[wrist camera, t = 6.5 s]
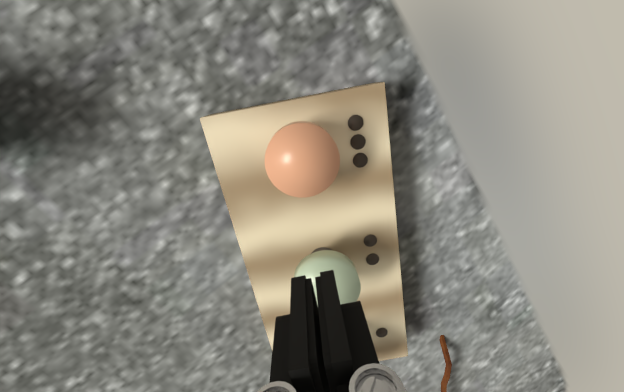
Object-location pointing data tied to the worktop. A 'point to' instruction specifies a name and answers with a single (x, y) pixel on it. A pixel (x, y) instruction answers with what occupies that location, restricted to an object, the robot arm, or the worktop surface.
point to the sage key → (342, 270)
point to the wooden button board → (316, 204)
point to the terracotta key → (302, 159)
